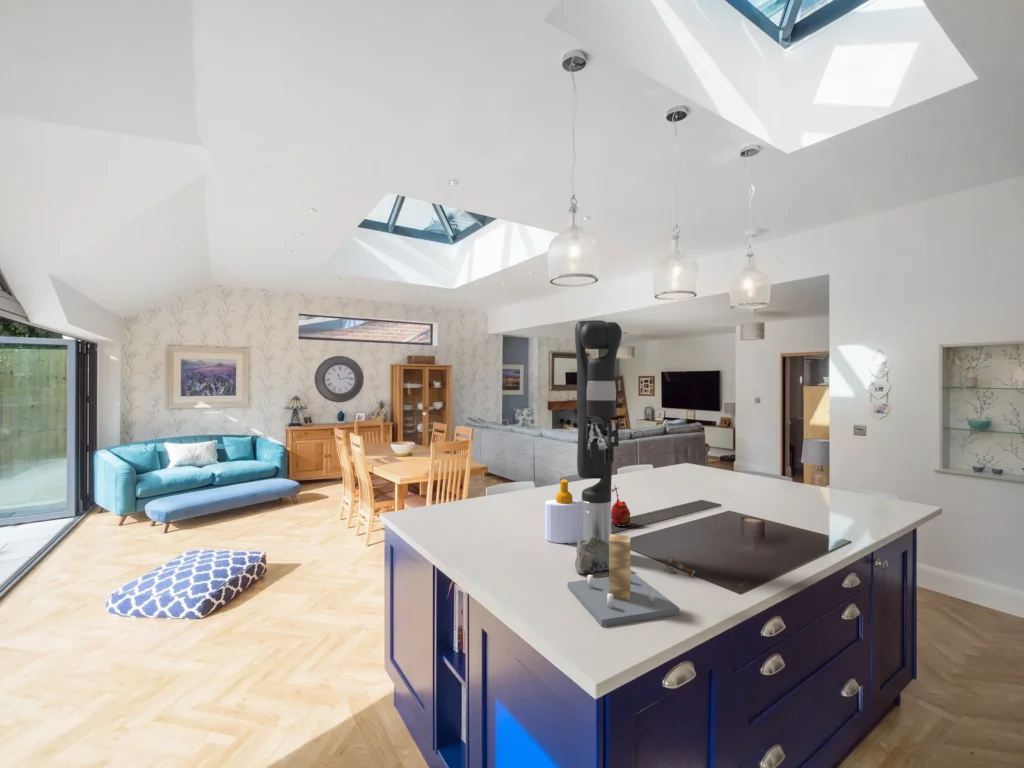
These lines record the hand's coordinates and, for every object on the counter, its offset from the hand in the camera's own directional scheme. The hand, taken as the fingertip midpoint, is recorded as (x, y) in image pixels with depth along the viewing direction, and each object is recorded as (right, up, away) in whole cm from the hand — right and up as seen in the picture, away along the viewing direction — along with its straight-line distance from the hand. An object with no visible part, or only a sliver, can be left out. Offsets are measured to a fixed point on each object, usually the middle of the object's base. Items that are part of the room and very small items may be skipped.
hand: (601, 460), depth 119 cm
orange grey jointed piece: (+24, -34, +10) cm, 43 cm away
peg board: (+4, -34, -5) cm, 35 cm away
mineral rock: (+2, -34, +13) cm, 37 cm away
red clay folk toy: (+18, -34, +56) cm, 68 cm away
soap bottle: (-5, -34, +39) cm, 52 cm away
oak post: (+4, -33, -5) cm, 33 cm away
